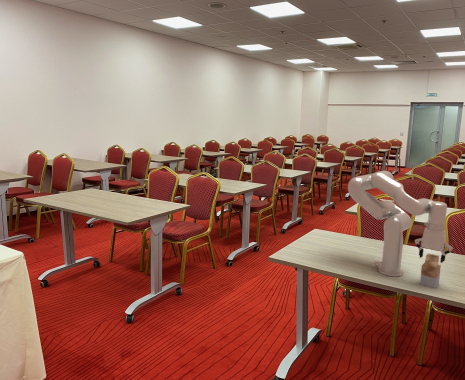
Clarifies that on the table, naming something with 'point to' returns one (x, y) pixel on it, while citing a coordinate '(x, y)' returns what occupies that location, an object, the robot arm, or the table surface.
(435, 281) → the base block
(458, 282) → the table surface
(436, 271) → the top block
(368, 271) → the table surface
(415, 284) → the table surface
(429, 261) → the oak cube
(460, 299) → the table surface
